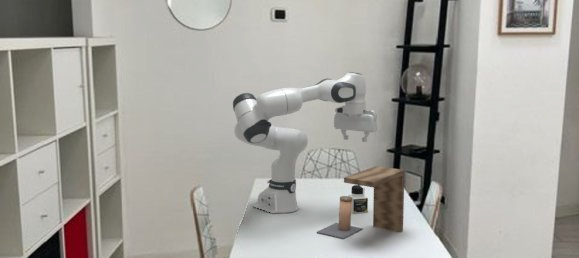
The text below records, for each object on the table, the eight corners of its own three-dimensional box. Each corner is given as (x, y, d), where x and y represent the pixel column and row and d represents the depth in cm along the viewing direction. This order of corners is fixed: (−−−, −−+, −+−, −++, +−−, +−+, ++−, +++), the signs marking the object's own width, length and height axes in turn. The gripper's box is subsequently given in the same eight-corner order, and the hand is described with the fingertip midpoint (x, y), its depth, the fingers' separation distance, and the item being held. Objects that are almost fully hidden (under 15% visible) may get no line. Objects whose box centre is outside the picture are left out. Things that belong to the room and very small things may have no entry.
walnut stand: (343, 241, 226) (343, 177, 222) (375, 225, 246) (376, 166, 242) (372, 248, 218) (373, 182, 214) (402, 230, 238) (404, 169, 234)
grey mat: (316, 233, 236) (316, 231, 236) (336, 223, 248) (336, 222, 248) (343, 239, 229) (343, 237, 228) (362, 229, 240) (362, 228, 240)
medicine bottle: (353, 213, 263) (353, 188, 261) (347, 209, 270) (348, 184, 268) (367, 212, 265) (368, 187, 263) (361, 208, 272) (362, 183, 270)
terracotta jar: (335, 228, 239) (337, 197, 237) (341, 225, 243) (343, 195, 241) (347, 231, 236) (348, 200, 234) (352, 228, 240) (354, 197, 238)
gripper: (380, 110, 246) (379, 141, 248) (339, 107, 258) (339, 137, 260) (372, 111, 241) (372, 143, 243) (332, 108, 253) (331, 139, 255)
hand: (355, 140), depth 252 cm, fingers open, 8 cm apart
